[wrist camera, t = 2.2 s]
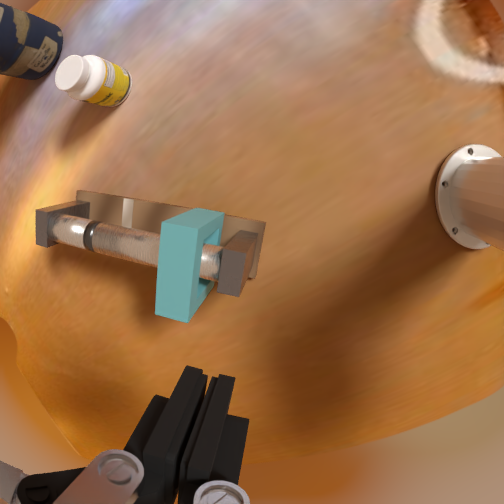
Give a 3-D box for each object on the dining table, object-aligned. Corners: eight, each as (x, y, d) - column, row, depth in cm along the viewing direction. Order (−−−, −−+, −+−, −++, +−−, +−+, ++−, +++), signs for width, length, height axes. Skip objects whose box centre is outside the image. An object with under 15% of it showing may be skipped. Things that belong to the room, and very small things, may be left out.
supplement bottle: (96, 109, 34) (46, 100, 24) (101, 71, 32) (54, 54, 23) (131, 106, 33) (83, 92, 24) (136, 66, 32) (92, 43, 22)
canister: (29, 40, 32) (-49, 20, 15) (70, 17, 30) (-11, -19, 13) (24, 89, 34) (-63, 79, 17) (65, 68, 33) (-29, 44, 15)
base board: (265, 222, 35) (265, 223, 34) (255, 276, 36) (254, 278, 36) (80, 190, 37) (76, 190, 36) (78, 236, 39) (74, 237, 38)
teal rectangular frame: (224, 212, 31) (198, 229, 23) (213, 286, 34) (187, 323, 25) (196, 207, 32) (161, 221, 23) (187, 280, 34) (155, 314, 26)
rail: (259, 231, 35) (246, 253, 26) (253, 265, 36) (238, 297, 27) (82, 199, 37) (35, 209, 28) (81, 228, 38) (36, 244, 29)
